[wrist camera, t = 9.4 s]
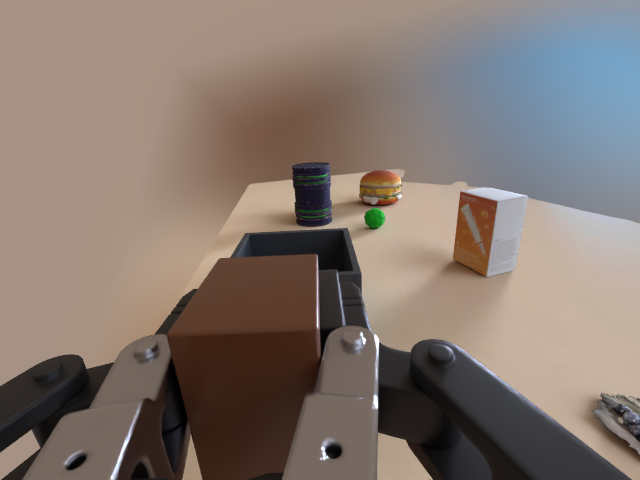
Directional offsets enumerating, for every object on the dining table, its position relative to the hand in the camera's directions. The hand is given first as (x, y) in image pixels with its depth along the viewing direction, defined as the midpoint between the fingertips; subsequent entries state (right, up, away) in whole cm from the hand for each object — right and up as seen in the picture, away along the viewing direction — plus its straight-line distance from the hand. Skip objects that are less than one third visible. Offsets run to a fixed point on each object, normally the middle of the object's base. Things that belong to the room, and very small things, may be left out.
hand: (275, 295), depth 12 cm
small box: (+30, -3, +45) cm, 55 cm away
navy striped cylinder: (0, +7, +75) cm, 76 cm away
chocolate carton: (+1, -10, +1) cm, 10 cm away
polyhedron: (+15, +5, +68) cm, 70 cm away
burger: (+21, +14, +91) cm, 95 cm away
